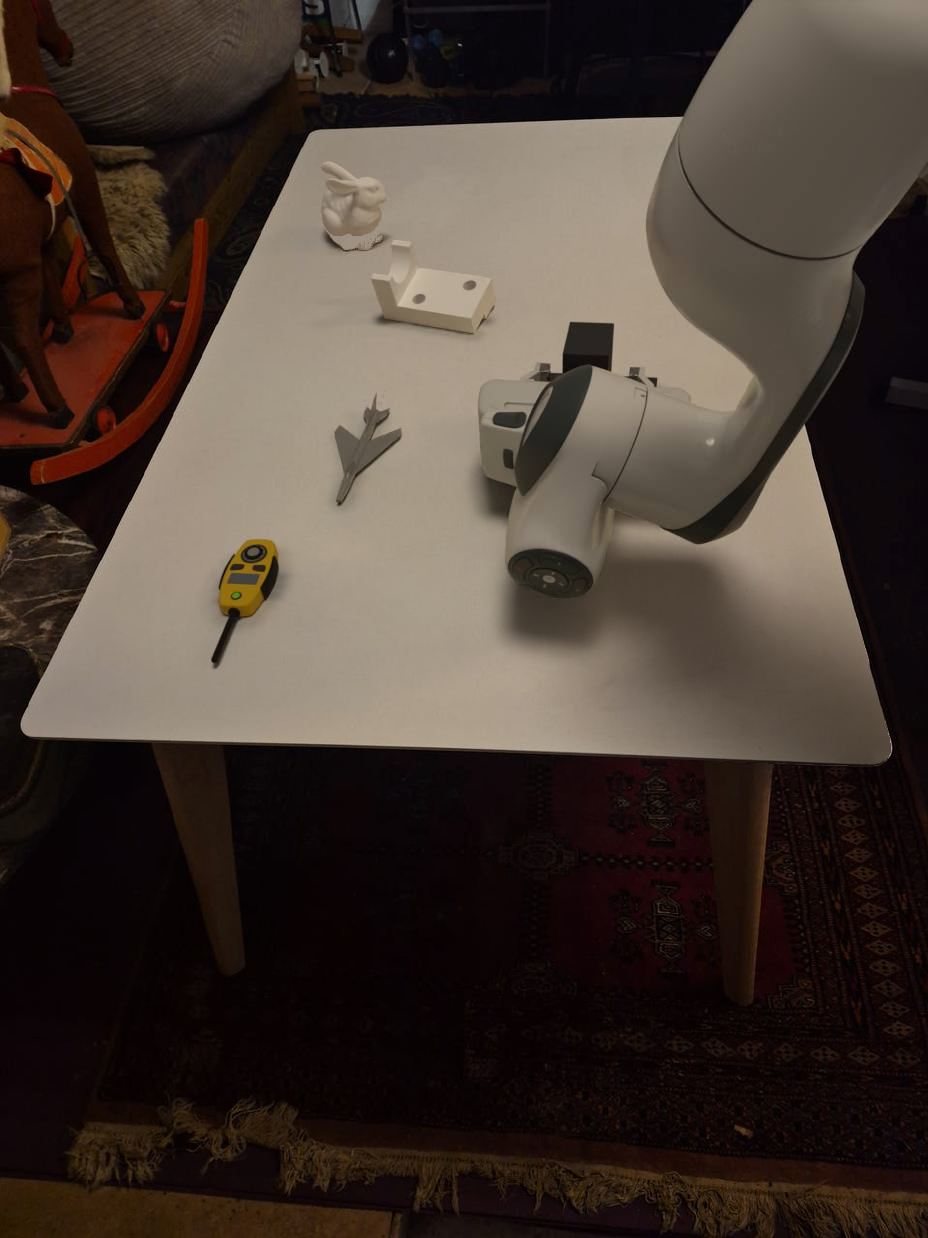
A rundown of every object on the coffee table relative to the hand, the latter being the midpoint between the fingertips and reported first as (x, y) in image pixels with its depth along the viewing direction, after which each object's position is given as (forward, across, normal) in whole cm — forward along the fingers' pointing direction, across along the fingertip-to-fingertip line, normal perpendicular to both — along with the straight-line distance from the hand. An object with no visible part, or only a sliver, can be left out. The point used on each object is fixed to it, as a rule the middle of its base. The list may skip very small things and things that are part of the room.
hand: (589, 370), depth 87 cm
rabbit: (+44, +39, +8) cm, 59 cm away
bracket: (+24, +22, +8) cm, 34 cm away
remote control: (-29, +29, +8) cm, 42 cm away
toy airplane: (-4, +24, +8) cm, 26 cm away
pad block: (+1, 0, +7) cm, 7 cm away
